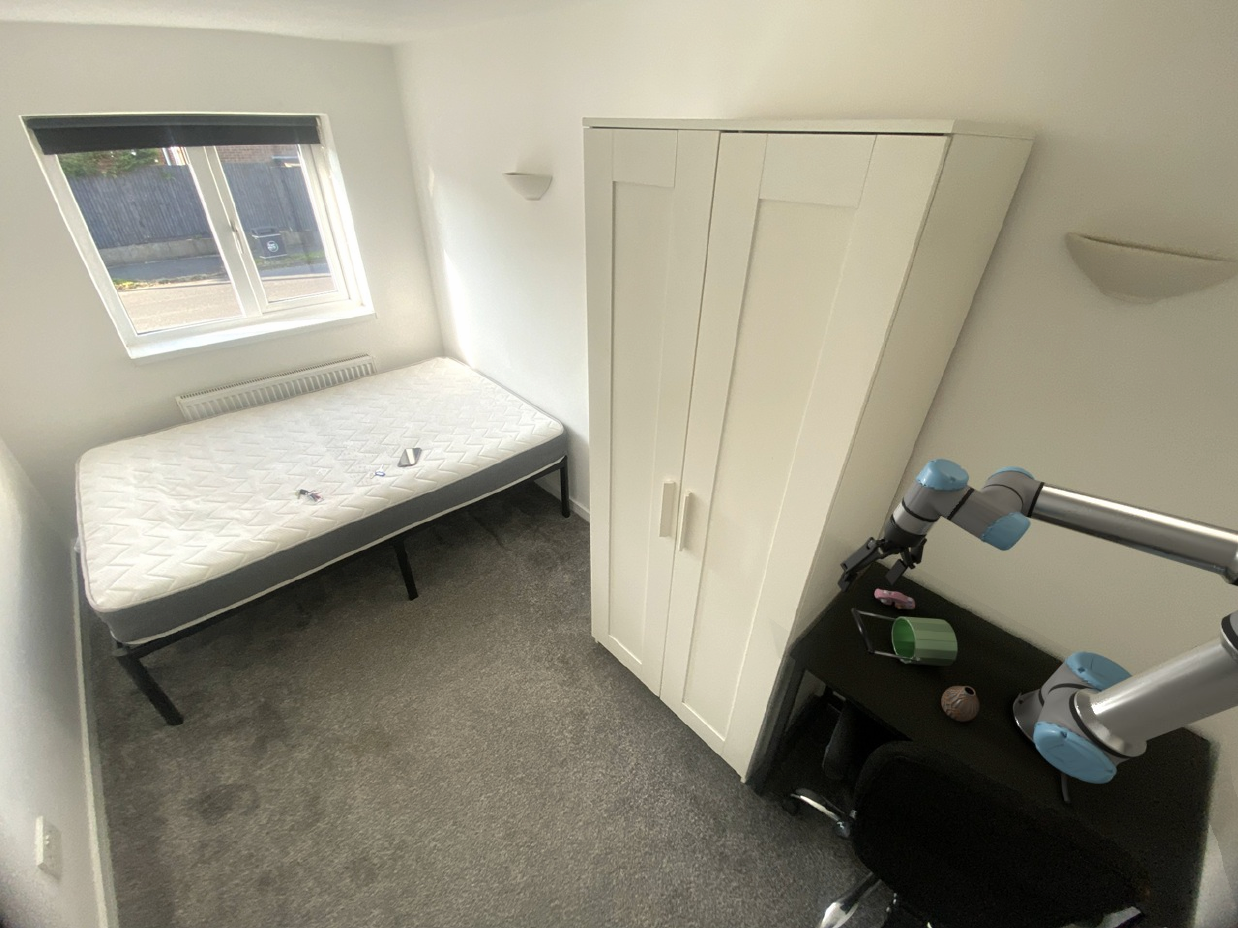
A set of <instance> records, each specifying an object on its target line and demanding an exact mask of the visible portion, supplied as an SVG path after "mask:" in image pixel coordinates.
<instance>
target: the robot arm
mask: <svg viewBox="0 0 1238 928" xmlns="http://www.w3.org/2000/svg"><path fill="white" fill-rule="evenodd" d="M969 480H970V475H969V473H968V471H967V470H966V469H964V468H962V467H961V465H960V464H959V463H957V462H955V461H952V460H949V459H945V458H935V459H932V460H930V461H928V462H927V463H926V464H925V466H924V467H923V468H922V469H921V471H920V472H919V474H918V475H916V477H915V479H914V481H913V482H912V483H911V485H910V487H909V488H908V490H907V491H906V493H905V494H904V496H903V497H902V499H901V501H900V502H899V503H898V505H897V507H896V508H895V509H894V511H893V512H892V514H891V515H890V517H889V518H888V519H887V521H886V522H885V524H884V527H883V531H884V532H883V533H884V534H883V535H882V536H881V537H880V538H878V539H875V537H873V536H870V537H869V538H867V540H866V541H865V543H863V544H862V545H861V546H860V547H859V548H858V549H856V550H855V551H854V552H853V553H851V554H850V555H849V556H848V557H847V558H845V559H844V560H843V561H842V562H840V564H839V566H840V567H841V569H842V570H843V572H842V574H841V575H840V578H839V579H838V581H837V585H838V586H839V588H840V591H842V593H847V592H848V591H849V589H850V588H851V586H852V584H853V583H854V582H855V580H856V579H857V577H858V576H859V574H858V573H859V572H861V571H862V570H864V569H865V568H868V567H870V566H871V565H872V564H874V563H875V562H876V561H878V560H885V559H886V558H887V557H889V556H893V555H899V554H900V557H901V558H898V559H897V560H896V561H895V562H894V563H893V565H892V567H890V569H889V570H888V571H887V573H886V574H885V578H886V579H887V581H888V582H889V583H890V585H891V586H895V585H896V584H897V583H898V582H899V580H900V579H901V578H902V576H904V574H905V573H906V571H907V570H908V569H910V570H911V571H912V570H915V569H916V565H920V564H921V563H922V559H923V555H924V547H925V545H926V544H927V542H928V539H927V538H926V537H927V536H928V534H929V533H930V532H931V531H932V529H933V528H934V527H935V526H936V524H937V523H938V521H939V520H940V519H941V518H944V519H946V520H947V521H948V522H951V523H952V524H954V525H955V526H957V527H958V528H961V529H962V530H964V531H965V532H967V533H969V534H971V535H972V536H974V537H975V538H977V539H978V540H980V541H981V542H982V543H986V544H988V545H990V546H992V547H994V548H996V549H997V550H1000V551H1004V552H1005V551H1009V550H1011V549H1012V548H1013V547H1015V545H1016V544H1017V543H1018V542H1019V541H1020V540H1021V539H1022V538H1023V536H1024V535H1025V534H1026V533H1027V531H1028V530H1029V528H1030V527H1031V523H1032V522H1031V520H1030V519H1032V520H1035V521H1038V522H1041V523H1044V524H1048V525H1051V526H1056V527H1058V528H1062V529H1066V530H1069V531H1072V532H1075V533H1078V534H1082V535H1086V536H1087V537H1088V536H1089V537H1092V538H1096V539H1099V540H1103V541H1105V542H1109V543H1113V544H1116V545H1119V546H1122V547H1126V548H1129V549H1133V550H1136V551H1139V552H1143V553H1145V554H1149V555H1153V556H1155V557H1160V558H1163V559H1166V560H1169V561H1173V562H1175V563H1176V562H1177V563H1179V564H1183V565H1186V566H1190V567H1193V568H1196V569H1199V570H1200V569H1201V570H1203V571H1207V572H1210V573H1213V574H1216V575H1219V576H1220V577H1221V579H1222V580H1223V581H1224V582H1225V583H1226V584H1228V585H1232V586H1235V587H1238V530H1237V529H1232V528H1229V527H1224V526H1221V525H1216V524H1213V523H1208V522H1204V521H1200V520H1197V519H1192V518H1189V517H1185V516H1180V515H1177V514H1172V513H1169V512H1164V511H1160V510H1156V509H1152V508H1149V507H1144V506H1141V505H1137V504H1132V503H1128V502H1124V501H1120V500H1116V499H1113V498H1108V497H1104V496H1101V495H1097V494H1093V493H1089V492H1085V491H1080V490H1077V489H1072V488H1069V487H1064V486H1060V485H1057V484H1052V483H1048V482H1045V481H1040V480H1037V479H1035V477H1034V476H1033V474H1032V473H1030V472H1029V471H1028V470H1026V469H1024V468H1023V467H1019V466H1005V467H1001V468H999V469H998V470H996V471H995V472H993V474H991V475H990V476H989V477H988V478H987V480H986V481H985V482H984V484H983V486H982V488H981V489H980V490H978V489H976V488H973V487H972V486H970V485H969V484H968V482H969ZM879 550H880V551H881V552H882V553H881V552H880V551H879ZM915 564H916V565H915ZM1218 622H1219V623H1218V626H1219V633H1218V634H1216V635H1214V636H1211V637H1209V638H1208V639H1205V640H1202V641H1201V642H1199V643H1197V644H1195V645H1194V646H1191V647H1189V648H1187V649H1185V650H1182V651H1181V652H1179V653H1177V654H1175V655H1173V656H1170V657H1169V658H1166V659H1164V660H1162V661H1160V662H1158V663H1156V664H1154V665H1153V666H1150V667H1149V668H1146V669H1144V670H1142V671H1140V672H1138V673H1136V674H1134V675H1132V674H1131V673H1130V672H1129V671H1128V670H1127V669H1126V668H1124V667H1123V666H1121V665H1120V664H1118V663H1117V662H1116V661H1113V660H1112V659H1111V658H1108V657H1106V656H1104V655H1101V654H1098V653H1095V652H1092V651H1085V650H1078V651H1075V652H1073V653H1071V654H1070V655H1069V656H1067V657H1066V658H1065V659H1064V662H1063V663H1062V664H1061V665H1060V666H1059V667H1058V668H1057V669H1056V671H1054V673H1053V674H1051V676H1050V677H1049V678H1048V680H1046V681H1045V683H1044V684H1043V685H1042V686H1041V687H1040V688H1038V689H1035V690H1033V691H1030V692H1026V693H1024V694H1022V692H1019V693H1018V695H1017V698H1015V700H1014V701H1013V702H1012V703H1011V706H1010V717H1011V720H1012V722H1013V725H1014V727H1015V729H1016V730H1017V732H1018V733H1019V734H1020V735H1021V737H1022V738H1023V739H1024V740H1025V741H1026V742H1027V743H1028V744H1029V745H1030V746H1031V747H1032V748H1034V749H1035V750H1036V751H1038V753H1039V754H1040V755H1041V756H1042V757H1043V759H1045V760H1046V761H1047V762H1048V763H1049V764H1050V765H1051V766H1053V767H1055V768H1056V769H1057V770H1059V771H1060V779H1061V780H1060V781H1061V790H1062V796H1063V798H1064V802H1065V803H1066V804H1071V798H1070V795H1069V790H1068V778H1067V775H1068V776H1070V777H1072V778H1075V779H1077V780H1079V781H1082V782H1086V783H1090V784H1106V783H1109V782H1111V780H1112V779H1113V778H1114V776H1116V775H1117V766H1118V765H1119V764H1121V763H1122V762H1125V761H1129V760H1130V759H1133V758H1137V757H1139V756H1141V755H1143V754H1144V753H1145V752H1146V750H1147V745H1148V743H1147V741H1149V740H1151V739H1153V738H1156V737H1159V736H1161V735H1164V734H1167V733H1169V732H1173V731H1175V730H1178V729H1180V728H1182V727H1185V726H1188V725H1191V724H1193V723H1196V722H1199V721H1201V720H1204V719H1207V718H1210V717H1212V716H1215V715H1218V714H1220V713H1223V712H1225V711H1229V710H1231V709H1234V708H1236V707H1238V609H1237V610H1235V611H1233V612H1231V613H1229V614H1227V615H1225V616H1223V617H1222V618H1221V619H1220V620H1219V621H1218Z"/></svg>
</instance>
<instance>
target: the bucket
mask: <svg viewBox="0 0 1238 928" xmlns="http://www.w3.org/2000/svg"><path fill="white" fill-rule="evenodd" d="M850 612H851V614H852V618H853V620H854V622H855V625H856V627H857V630H858V632H859V634H860V638H861V639H862V641H863V645H864V646H865V649H866V651H867V653H868V655H870V656H873V655H880V656H884V657H888V658H889V657H890V658H894V659H899V661H900V662H901V663H904V664H906V665H907V664H908V665H921V666H922V665H923V666H935V667H950V666H952V665H953V664H954V663H955V661H956V659H957V655H958V640H957V637H956V633H955V631H954V629H953V627H952V626H951V624H950V623H949V622H947V621H946V620H945V619H941V618H928V617H912V616H898V617H897V618H896V617H895V618H894V617H890V616H885V615H881V614H876V613H872V612H867V611H862V610H858V609H857V607H853V608H851V610H850ZM861 615H864V616H867V617H868V616H870V617H873V618H878V619H883V620H887V621H892V622H893V624H892V626H891V627H892V628H891V643H892V648H893V651H894V653H895V654H893V653H889V652H884V651H879V650H875V648H874V646H873V642H872V641H871V638H870V636H869V633H868V631H867V629H866V627H865V625H864V622H863V619H862V617H861Z"/></svg>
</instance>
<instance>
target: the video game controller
mask: <svg viewBox="0 0 1238 928" xmlns="http://www.w3.org/2000/svg"><path fill="white" fill-rule="evenodd" d="M874 597H875V598H876V599H877V600H878V601H879V602H881V603H882V604H883V605H887V606H891V605H892V604H893V603H894V607H895V608H897V609H898V610H900V609H901V610H904V609H906V610H915V608H916V602H915V599H914V598H912V597H910V596H907V595H905V594H904V593H902V592H899V591H891V590H886V589H880V588H876V589H875V591H874Z"/></svg>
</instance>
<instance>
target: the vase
mask: <svg viewBox="0 0 1238 928" xmlns="http://www.w3.org/2000/svg"><path fill="white" fill-rule="evenodd" d="M940 701H941V702H940V703H941V707H942V710H943V712H944V713H945V714H946V715H947V716H948V717H949V718H950V719H952V720H954V721H957V722H961V723H965V722H969V721H971V720H973V719H974V718H975V717H976V716H977V715H978V713H979V711H980V701H979V699H978V696H977V692H976V691H975V689H974V688H973V687H971V686H970V685H964V686H963V685H953V686H950V687H948V688H947V689H945V691H944V692H943V694H942V696H941V700H940Z"/></svg>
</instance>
